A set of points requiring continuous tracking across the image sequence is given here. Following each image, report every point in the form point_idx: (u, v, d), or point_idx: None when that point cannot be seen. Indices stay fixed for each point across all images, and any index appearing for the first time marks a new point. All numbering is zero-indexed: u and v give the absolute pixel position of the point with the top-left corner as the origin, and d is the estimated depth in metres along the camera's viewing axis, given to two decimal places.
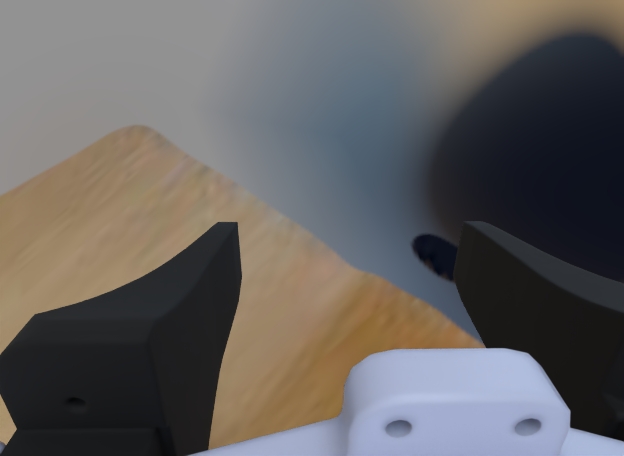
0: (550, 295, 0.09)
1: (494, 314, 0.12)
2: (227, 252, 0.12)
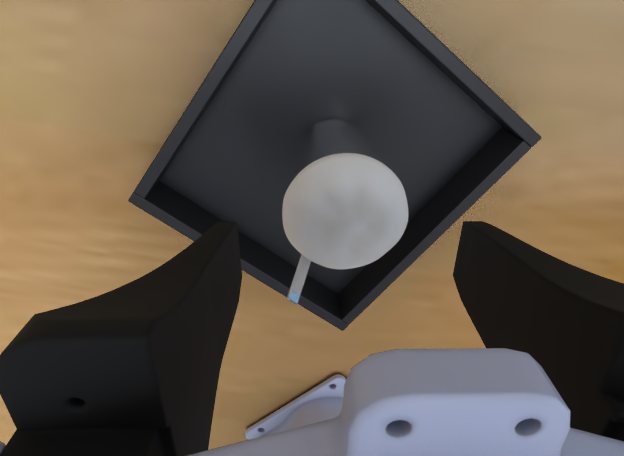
0: (550, 295, 0.09)
1: (494, 314, 0.12)
2: (227, 252, 0.12)
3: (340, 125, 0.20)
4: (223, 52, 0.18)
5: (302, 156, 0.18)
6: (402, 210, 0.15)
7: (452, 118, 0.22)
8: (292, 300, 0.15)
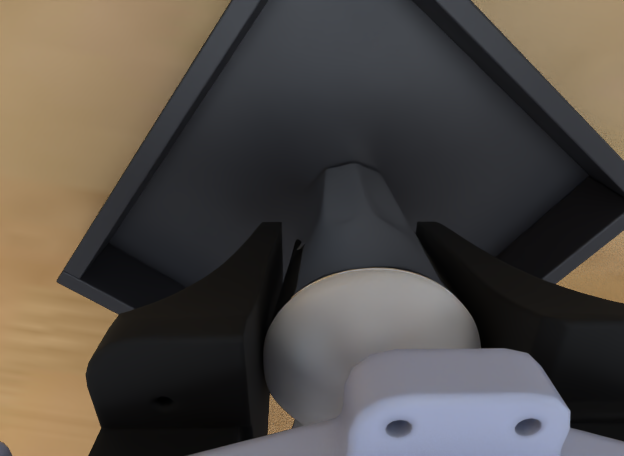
0: (482, 295, 0.09)
1: None
2: (277, 252, 0.12)
3: (363, 180, 0.14)
4: (188, 73, 0.12)
5: (303, 238, 0.12)
6: None
7: (520, 163, 0.16)
8: None
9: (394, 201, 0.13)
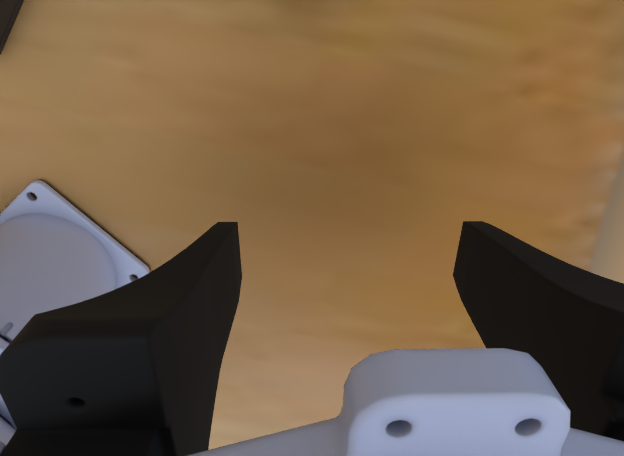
0: (550, 295, 0.09)
1: (494, 314, 0.12)
2: (227, 252, 0.12)
3: None
4: None
5: None
6: None
7: None
8: None
9: None
